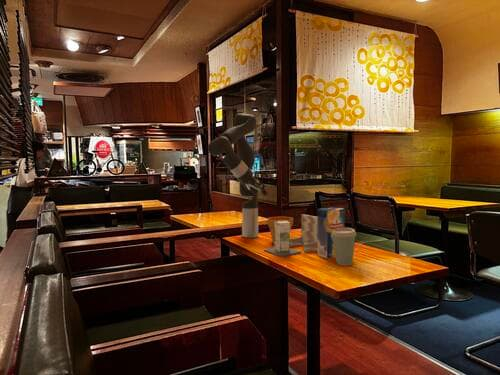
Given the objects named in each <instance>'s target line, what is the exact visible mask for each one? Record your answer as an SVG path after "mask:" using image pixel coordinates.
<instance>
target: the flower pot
mask: <svg viewBox="0 0 500 375" xmlns="http://www.w3.org/2000/svg"><path fill="white" fill-rule="evenodd" d="M266 220H267V226H268V227H269V231H270V235H271V240H272V242H273V243H275V221H288V222H290V232H291V229H292V227H293V225H294V218H293V217H291V216H270V217H268V218H267V219H266Z"/></svg>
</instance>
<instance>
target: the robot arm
mask: <svg viewBox="0 0 500 375" xmlns="http://www.w3.org/2000/svg"><path fill="white" fill-rule="evenodd" d="M256 127H257V118H256V116H255V115H253V114H247V113H236V114H235V115H234V118H233V126H232V127H230V128H228V129H226V130H225V131H224V132H222V134H220V135H219V136H218V137H216V138H215V139H213V140H211V141H210V142H209V143H208V145H207V150H208V152H209V154H210V155H211V156H214V157H218V156H220V155H222V154H224V153H225V156H224V157H223V159H222V162H223V164H224V165H225V166H226V167H227V168H228V169H229V171H230V172H231V173H232V174H233V176H234V177H235V178H236V179H237V180H238V182H239V185H238V186H239V194H240V196H241V197H252V198H251V199H249V200H247V201H245V202H243V203H242V205H241V206H242V208H241V209H242V210H241V211H242V220H241V236H242V237H244V238H249V239H250V238H252V239H253V238H258V237H259V205H258V204H259V203H258V202H259V201H258V200H259V197H258V196H259V192H260V193H261V194H262V195H263V197H265V196H267V195H268V191H267V189H265V188H266V185H265V184H264V183H263V182H262V181H261V180H260V179H259V178H257V177H256V178H255V177H254V176H253V175H254V173H253V171H252V168H253V167H254V164H255V153H254V150H253V148H252V146H251V144H250V143H249V142H248V140H247V139H246V137H245V136H247V135H250V134H251V133H253V132H254V131H255V129H256ZM235 143H236V150H237V153H236V151H235V149H234V148H233V145H234V144H235Z"/></svg>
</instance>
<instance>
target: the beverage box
mask: <svg viewBox="0 0 500 375" xmlns="http://www.w3.org/2000/svg"><path fill="white" fill-rule="evenodd" d="M345 214H346V209H345V208H342V207H335V206H334V207H326V208H325V207H324V208H318V209H317V217H318V224H317V250H316V251H317V252H316V253H317V255H316V256H319V257H321V258H325V259H331V258H336V256H335V251H334V245H333V239H332V235H331V234H332V231H333V230H334V229H336V228H346V227H345V222H346V219H345V217H346V215H345Z"/></svg>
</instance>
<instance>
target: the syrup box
mask: <svg viewBox="0 0 500 375" xmlns="http://www.w3.org/2000/svg"><path fill="white" fill-rule="evenodd" d="M290 239H291V231H290V222H288V221H275V242H274V243H273V245H274V247H273V248H274V249H275V250H276V251H278V252H286V251H290V248H291V247H290Z"/></svg>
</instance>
